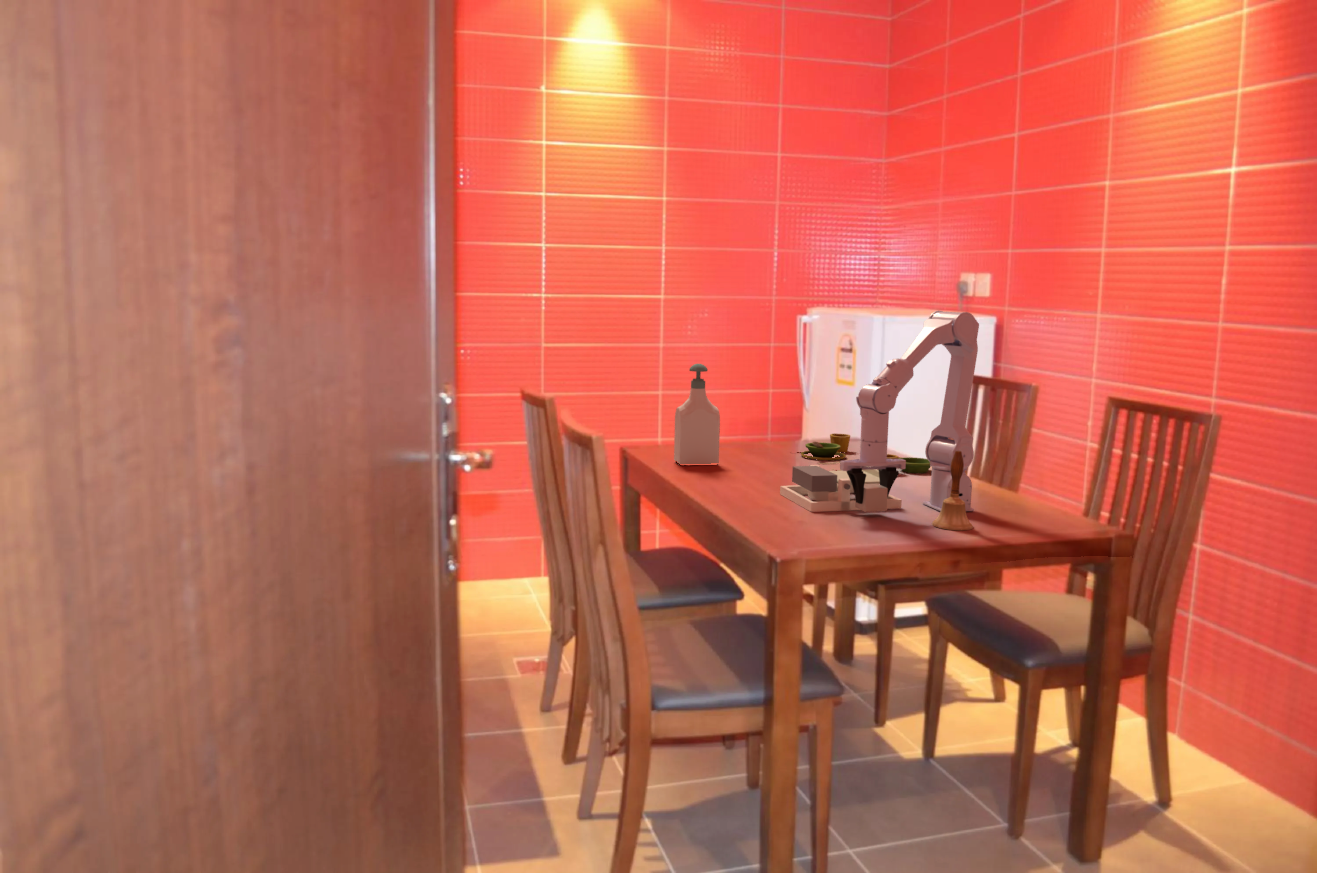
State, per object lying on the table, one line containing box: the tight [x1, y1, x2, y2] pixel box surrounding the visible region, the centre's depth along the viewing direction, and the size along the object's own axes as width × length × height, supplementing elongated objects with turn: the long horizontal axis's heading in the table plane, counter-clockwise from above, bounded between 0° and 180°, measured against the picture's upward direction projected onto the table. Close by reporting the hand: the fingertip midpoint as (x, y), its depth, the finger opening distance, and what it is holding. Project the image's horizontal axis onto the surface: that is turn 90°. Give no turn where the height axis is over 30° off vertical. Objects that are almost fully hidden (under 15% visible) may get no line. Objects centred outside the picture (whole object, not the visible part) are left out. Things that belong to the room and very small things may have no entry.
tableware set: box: [800, 433, 932, 474], centre depth 296 cm, size 41×28×6 cm
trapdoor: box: [791, 465, 880, 492], centre depth 242 cm, size 14×19×4 cm
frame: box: [779, 464, 902, 513], centre depth 243 cm, size 21×22×7 cm
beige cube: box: [855, 484, 888, 513], centre depth 228 cm, size 5×5×5 cm
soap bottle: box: [673, 363, 721, 465], centre depth 287 cm, size 11×8×27 cm
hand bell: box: [931, 451, 974, 531], centre depth 219 cm, size 8×8×16 cm
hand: (871, 502), depth 229 cm, fingers closed on beige cube, 5 cm apart
